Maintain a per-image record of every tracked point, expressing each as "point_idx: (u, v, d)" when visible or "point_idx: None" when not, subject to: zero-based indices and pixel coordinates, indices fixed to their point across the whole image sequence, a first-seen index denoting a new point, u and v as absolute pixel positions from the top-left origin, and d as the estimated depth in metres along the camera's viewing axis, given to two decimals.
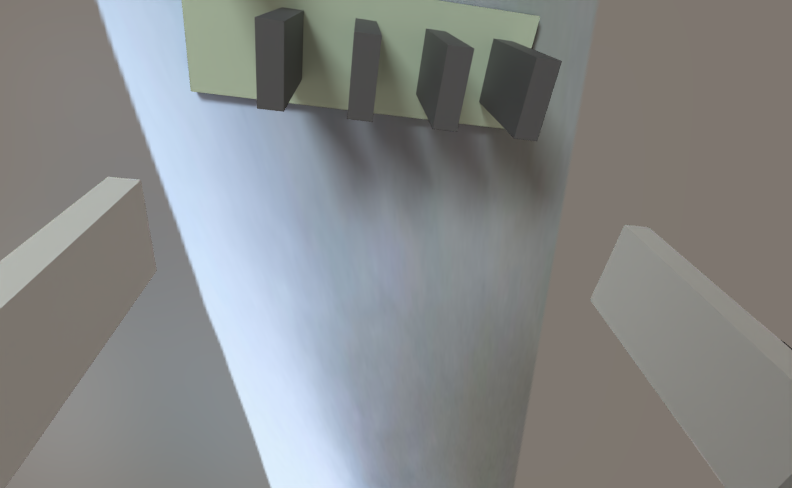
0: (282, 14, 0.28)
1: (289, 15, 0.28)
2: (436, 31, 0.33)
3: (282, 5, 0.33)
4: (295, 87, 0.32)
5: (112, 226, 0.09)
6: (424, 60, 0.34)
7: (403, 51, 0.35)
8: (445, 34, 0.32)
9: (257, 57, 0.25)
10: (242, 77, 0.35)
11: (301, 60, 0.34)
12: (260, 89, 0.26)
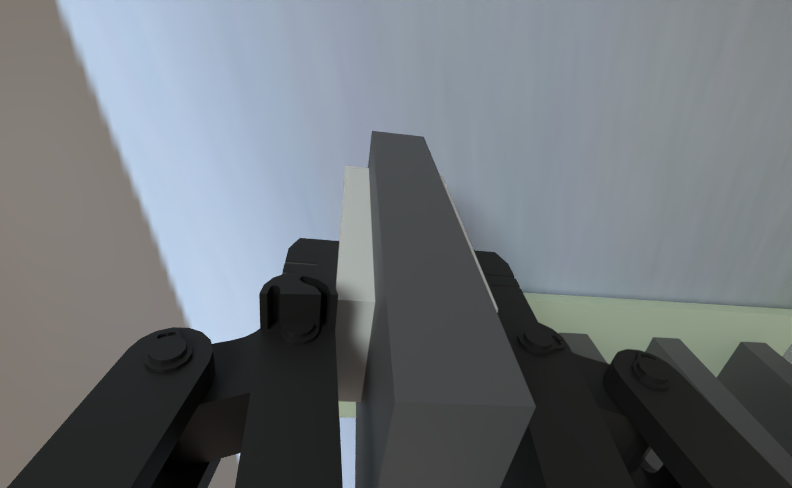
0: None
1: None
2: (680, 357, 0.23)
3: None
4: None
5: None
6: None
7: None
8: (709, 380, 0.21)
9: None
10: None
11: None
12: None
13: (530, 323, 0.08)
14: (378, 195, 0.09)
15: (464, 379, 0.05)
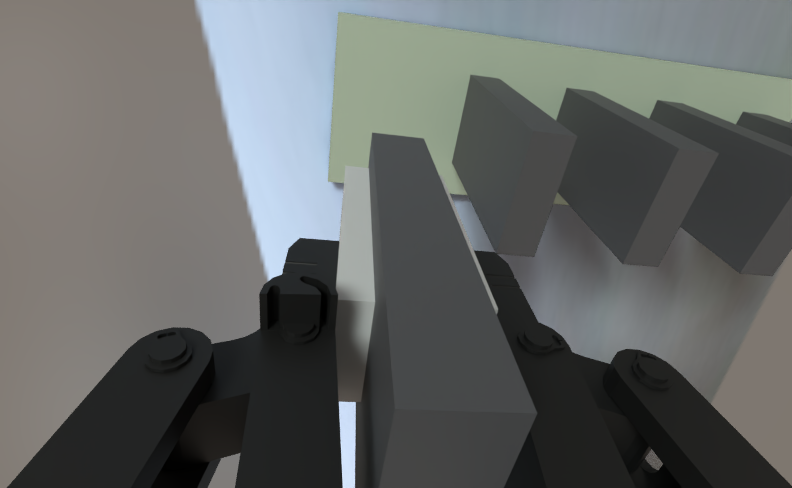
0: (521, 104, 0.18)
1: (532, 106, 0.18)
2: (683, 108, 0.24)
3: (471, 72, 0.23)
4: None
5: None
6: None
7: None
8: (710, 116, 0.22)
9: (518, 187, 0.16)
10: None
11: None
12: (509, 229, 0.17)
13: (530, 323, 0.08)
14: (378, 198, 0.09)
15: (465, 384, 0.05)
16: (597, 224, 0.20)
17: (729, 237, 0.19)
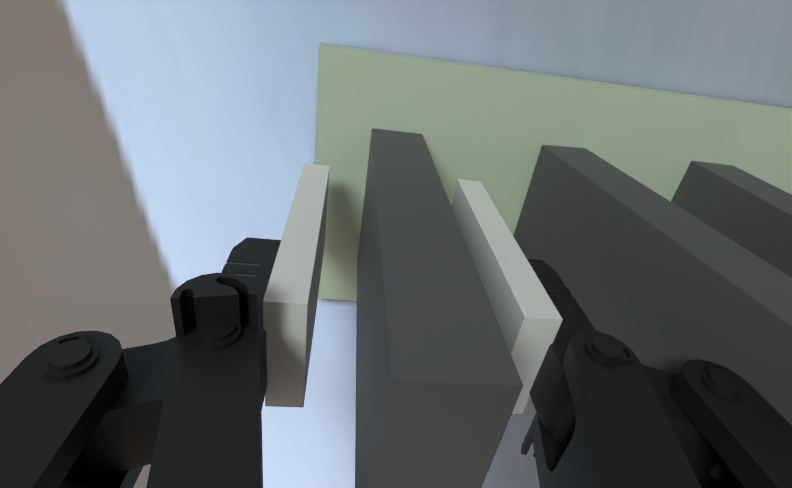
0: (708, 241, 0.09)
1: (727, 242, 0.09)
2: None
3: (542, 140, 0.14)
4: None
5: (325, 201, 0.12)
6: None
7: None
8: None
9: None
10: None
11: None
12: None
13: (598, 334, 0.08)
14: (377, 190, 0.10)
15: (457, 360, 0.05)
16: None
17: None
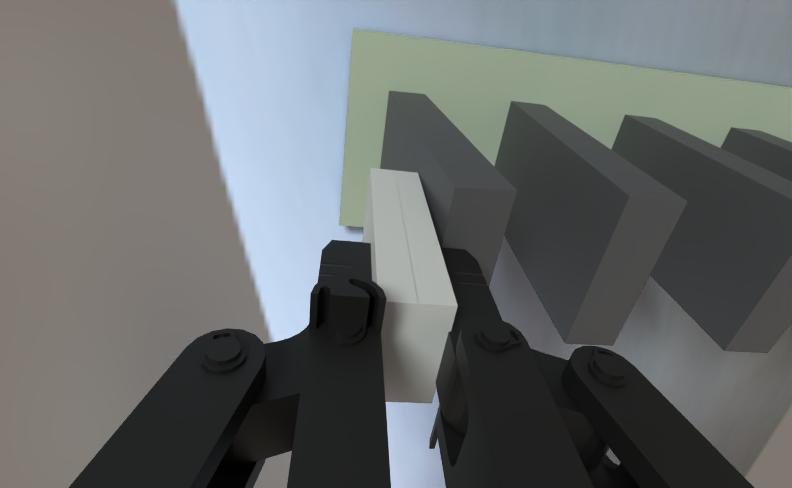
0: (590, 146, 0.14)
1: (604, 148, 0.14)
2: (767, 138, 0.20)
3: (512, 98, 0.19)
4: None
5: None
6: None
7: None
8: None
9: (602, 265, 0.12)
10: None
11: None
12: (585, 315, 0.13)
13: (488, 319, 0.08)
14: (411, 122, 0.15)
15: (483, 182, 0.11)
16: (679, 291, 0.16)
17: None
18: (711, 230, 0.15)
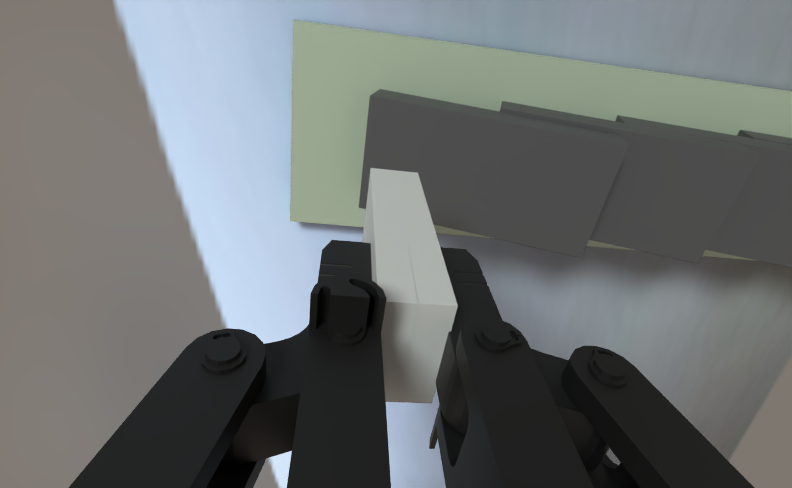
0: (645, 130, 0.18)
1: (644, 127, 0.18)
2: (785, 140, 0.20)
3: (460, 93, 0.19)
4: None
5: None
6: None
7: None
8: None
9: (731, 203, 0.18)
10: None
11: None
12: None
13: (488, 319, 0.08)
14: (486, 118, 0.17)
15: (614, 137, 0.17)
16: (752, 250, 0.20)
17: None
18: (781, 200, 0.19)
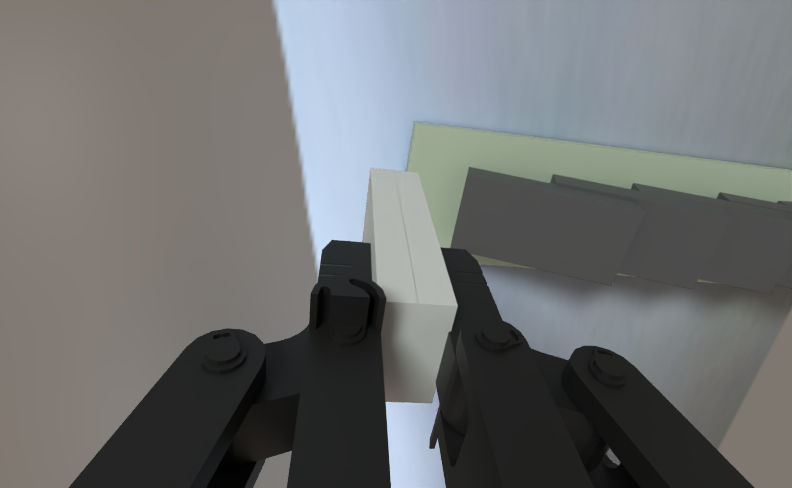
0: (654, 197, 0.26)
1: (653, 194, 0.26)
2: (750, 201, 0.28)
3: (524, 169, 0.27)
4: None
5: None
6: None
7: None
8: (775, 204, 0.28)
9: (714, 248, 0.26)
10: None
11: None
12: None
13: (488, 319, 0.08)
14: (548, 191, 0.25)
15: (634, 204, 0.25)
16: (730, 279, 0.28)
17: None
18: (749, 245, 0.27)
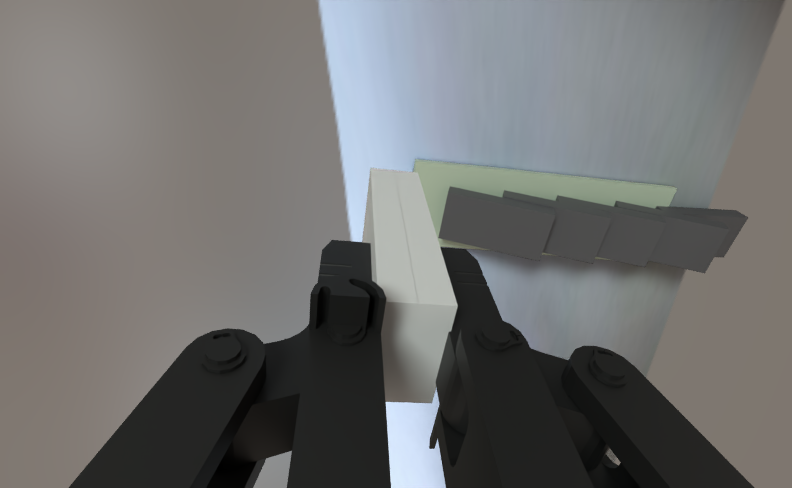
0: (566, 205, 0.41)
1: (566, 203, 0.42)
2: (633, 207, 0.43)
3: (485, 187, 0.42)
4: None
5: None
6: None
7: None
8: (649, 209, 0.43)
9: (603, 237, 0.41)
10: None
11: None
12: (596, 252, 0.42)
13: (488, 319, 0.08)
14: (497, 203, 0.40)
15: (551, 210, 0.40)
16: (619, 257, 0.44)
17: (694, 261, 0.43)
18: (628, 235, 0.42)
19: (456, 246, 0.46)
